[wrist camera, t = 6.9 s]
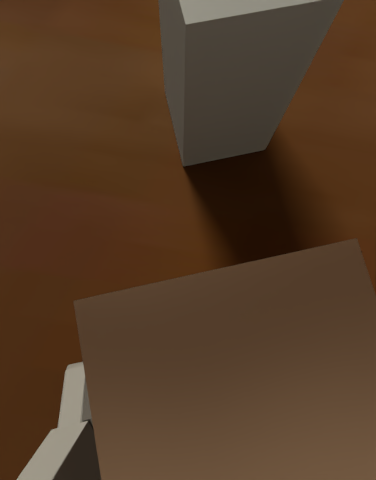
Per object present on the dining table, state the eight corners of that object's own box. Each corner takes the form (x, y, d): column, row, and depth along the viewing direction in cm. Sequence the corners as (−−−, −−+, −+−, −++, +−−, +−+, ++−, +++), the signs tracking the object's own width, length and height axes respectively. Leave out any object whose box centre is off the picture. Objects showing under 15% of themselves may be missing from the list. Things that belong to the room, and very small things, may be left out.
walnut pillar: (266, 391, 14) (462, 560, 5) (161, 418, 14) (130, 661, 4) (239, 286, 15) (356, 238, 5) (140, 309, 15) (73, 300, 5)
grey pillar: (265, 149, 18) (345, -5, 9) (183, 166, 18) (185, 24, 9) (243, 76, 19) (298, -128, 10) (165, 91, 19) (151, -106, 10)
